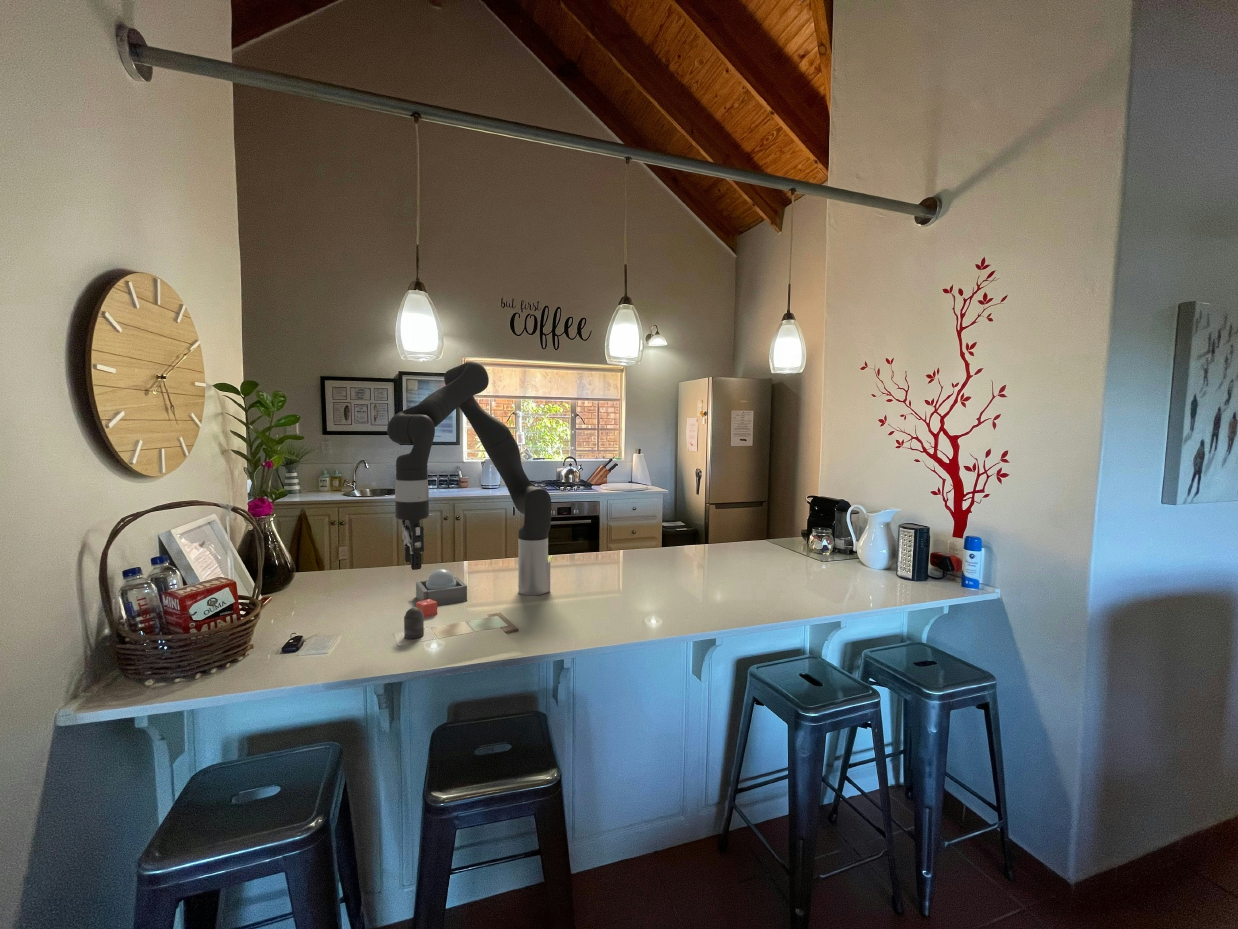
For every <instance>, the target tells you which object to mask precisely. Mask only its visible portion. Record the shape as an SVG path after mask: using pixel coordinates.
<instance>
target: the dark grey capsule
mask: <svg viewBox="0 0 1238 929" xmlns="http://www.w3.org/2000/svg"><path fill="white" fill-rule="evenodd" d="M424 618H425V617H423V614H422V611H421V610H420V609H419V608H416V607H411V608H409V609H408V610H406V612H405V614H404V616H403V623H404V624H403V627H404V629H403V630H404V631H403V632H404V638H405V639H408V640H415V639H419V638H422V637H423V636H424V628H425V626H424Z"/></svg>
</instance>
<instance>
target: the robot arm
mask: <svg viewBox="0 0 1238 929" xmlns="http://www.w3.org/2000/svg"><path fill="white" fill-rule="evenodd" d="M489 379H490V377H489V373H488V371H487V370H486V367H484V365H483V364H482V363H480V362H478V361H474V360H472V361H467V362H465V363H462V364H460V365H457V366H454V367H452V368H450V369H448V370H446V371H445V373H444V376H443V381H444V384H445V385H444V386H442V387H440V388H439V389H437V390H434V391H433V392H432V393H430V394H429V395H427V396H426V397H425V398H423V399H422V400H420V402H418V404H416V405H413V406H411V407H408V408H405V409H404V410H402V411H399V412H397V413H396V414H394V415H393V416H392V417H391V419H390V420H389V421H388V424H387V428H386V432H387V436H388V438H389V439H390V440H391V441H392V442H394V443H395V444H397V445H398V444H399V445H413V446H412V448H411V450H410V452H409V453H405V454H401V455H399V456H397V458H396V459H395V486H394V487H395V489H394V503H395V504H394V508H395V510H394V511H395V515H394V516H395V518H396V519H397V520H400V521H401V524H402V525H401V527H402V528H401V529H402V532H401V533H402V534H401V535H402V536H401V538H402V539H401V541H402V546H404V562H406V563H410V569H411V570H412V571H416V570H417V571H418V570H421V569H422V554H423V553H424V552H425V544H424V543H425V541H424V537H425V536H424V529H425V527H424V526H423V525H421V522H420V521H421V520H424V519H427V518H429V517H430V505H429V504H430V499H429V498H430V497H429V496H430V495H429V494H430V492H429V491H430V488H429V482H428V462H429V458H430V453H431V450H432V446H433V443H434V439H435V434H436V427H438V426H439V425H440V424H441V423H443V421H444V420H446V419H447V418H448V417H449V416H450V415H451V414H452V413H453V412H455V410H457V408H459V409H460V411H461V412H462V414H463V415H464V416H465V418H466V420H467V421H468V423H469V425H470V426H471V427H472V430H473V431H474V433H475V434H476V436H477V437H478V440H479V441H480V443H481V445H482V447H483V449H484V451H485V452H486V454H487V455H488V458H489V459H490V461H491V462H492V464H493V466H494V467H495V470H496V471H497V472H498V474H499V476H500V477H501V479H502V480H503V482H504V484H505V486H506V489H507V491H508V493H509V495H510V497H511V500H512V502H513V505H514V506H515V509H516V510H517V511H518V512H519V513H520V514H522V515H524V516H523V518H524V519H523V520H524V522H523V526H522V527H520V528H519V529H518V535H517V536H518V538H517V539H518V540H517V541H518V542H517V543H518V551H517V552H518V556H517V557H518V562H517V563H518V568H517V569H518V581H517V582H518V586H517V587H518V593H519V594H520V595H522V596H523V595H524V596H540V595H541V596H542V595H544V594H547V593H550V592H551V561H550V560H549V532H550V529H551V525H552V498H551V495H550V493H549V492H548V490H546V489H544V488H542V487H537V486H534V485H533V483H532V482H531V481H530V479H529V477H528V476H527V474H526V472H525V470H524V468H523V465H522V464H523V463H522V456H521V451H520V448H519V445H518V443H517V441H516V439H515V437H514V436H513V433H512V432H511V429H510V428H509V427H508V426H507V425H506V424H505V423H503V421H500V419H498V418H496V417H495V416H493V415H491V414H490V413H489V412H488V411H486V410H485V409H484V408H483V406H482V407H481V405H480V404H479V402H478V401H477V400H476V398H475V396H476V395H478V394H481V393H482V392H484V391H485V390H486V389H487V388H488V387H489V382H490V380H489Z"/></svg>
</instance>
